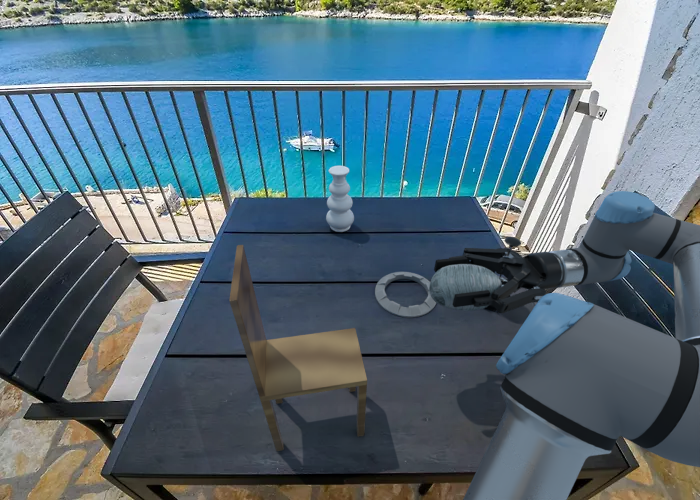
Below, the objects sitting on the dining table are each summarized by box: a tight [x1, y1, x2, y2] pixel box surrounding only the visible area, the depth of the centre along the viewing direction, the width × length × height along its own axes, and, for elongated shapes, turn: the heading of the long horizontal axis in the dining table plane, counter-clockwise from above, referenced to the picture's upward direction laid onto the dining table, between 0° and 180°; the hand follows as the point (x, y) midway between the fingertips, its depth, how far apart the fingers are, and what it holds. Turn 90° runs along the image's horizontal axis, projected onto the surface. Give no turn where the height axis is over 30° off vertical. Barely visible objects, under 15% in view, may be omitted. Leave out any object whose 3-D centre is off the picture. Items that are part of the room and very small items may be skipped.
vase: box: [325, 165, 355, 233], centre depth 131 cm, size 11×11×25 cm
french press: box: [484, 236, 524, 312], centre depth 100 cm, size 12×9×23 cm
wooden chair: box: [228, 244, 368, 452], centre depth 65 cm, size 12×19×46 cm, turn 100°
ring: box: [374, 271, 437, 319], centre depth 109 cm, size 19×19×2 cm
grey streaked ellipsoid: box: [429, 264, 502, 312], centre depth 69 cm, size 14×10×10 cm
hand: (444, 282), depth 67 cm, fingers closed on grey streaked ellipsoid, 9 cm apart
